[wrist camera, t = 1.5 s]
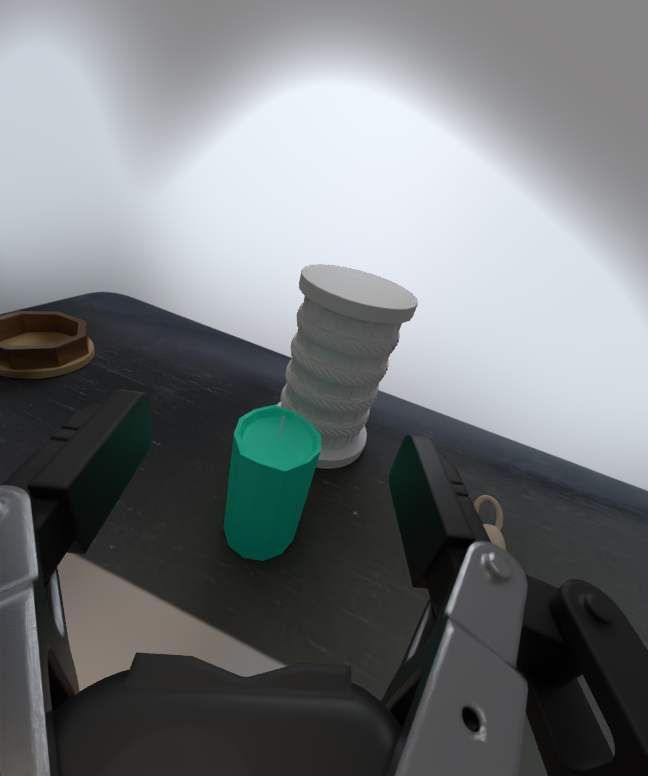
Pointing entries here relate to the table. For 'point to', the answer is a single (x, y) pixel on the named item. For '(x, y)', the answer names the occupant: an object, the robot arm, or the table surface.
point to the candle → (269, 480)
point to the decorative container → (342, 354)
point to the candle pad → (42, 344)
